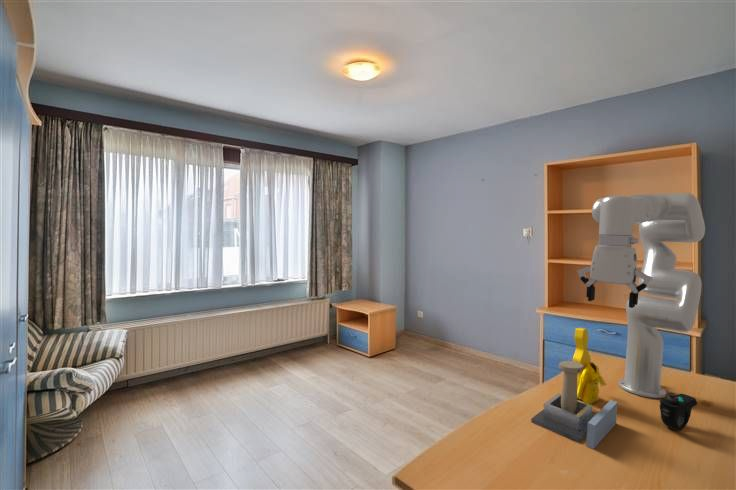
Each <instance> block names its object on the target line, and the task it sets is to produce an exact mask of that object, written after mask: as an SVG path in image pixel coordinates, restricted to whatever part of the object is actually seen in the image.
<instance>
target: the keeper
mask: <svg viewBox="0 0 736 490" xmlns="http://www.w3.org/2000/svg"><path fill="white" fill-rule="evenodd" d="M593 406H594V405H593V404H588V403H586V402H584V401H582V400H580V399H577V406H576V411H575V414H574V413H571V412H568V411H566V410H563V409H561V393H557V394H556V395H554V396H552V397H551V398H550V399H548V400H547V401H546V402H545V403H544V404H543V409H542V410H540V411H539V412H538V413H537V414H536V415H534V416H533V417H532V418H530V419H531V420H530V421H531V423H533V424H535V425H537V426H540V427H542V428H543V429H546V430H549V431H551V432H553V433H556V434H558V435H561V436H562V437H565V438H567V439H570V440H572V441H575V442H577V443H580V442H581V441H582V440H583V439H584V438H585V437H587V426H588V422H589V421H590V420H591V419H592V418H593V417H594V416H595V415H596V414H597V413H598V412H596V411H593Z"/></svg>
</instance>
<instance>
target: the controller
mask: <svg viewBox="0 0 736 490" xmlns="http://www.w3.org/2000/svg"><path fill="white" fill-rule="evenodd" d="M666 395H667V396H665V397H663V398H660V400H659V410H660V419H661V422H662V423H663V424H664V425H665V426H666V427H667V428H670V429H673V430H675V431H681V430H683V429H684V428H685V427H686V426H687V424H688V423H689V421H690V417H691V414H692V409H693V408H694V407H695V406H697V405H698V401H697V399H696V398H695V397H693V396H690V395H689V394H684V393H680V394H679V393H678V394H676V393H673V392H666Z"/></svg>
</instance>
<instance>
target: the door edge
mask: <svg viewBox="0 0 736 490" xmlns="http://www.w3.org/2000/svg"><path fill="white" fill-rule="evenodd" d="M596 413H597V414H596V415H595V416H594V417H593V418H592V419H591V420H590V421H589V422H588V426H587V435H586V444H585V445H586V446H585V447H587V448H590V449H592V450H594V449H595V448H596V447H597V446H598V445H599V443H601V441H602V440H603V439H604V438H605V436H606V435H607V434H608V433H609V432H610V431H611V430H612V428H613V427H614V426H615V425H616V424H617V413H618V401H615V400H611V399H610V400H609V401H608V402H607V403H606V404H605V405H604V406H603V407H602V408H601V409H600V410H599V411H598V412H596Z"/></svg>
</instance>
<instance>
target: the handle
mask: <svg viewBox="0 0 736 490" xmlns="http://www.w3.org/2000/svg"><path fill="white" fill-rule="evenodd" d="M558 369H559V370H561V371H562V372H563V379H562V385H561V393H560V394H561V409H563V410H566V411H568V412H571V413H574V414H575V411H576V406H577V400H578V399H577V374H578V373H580V372H582V371H583V365H582V364H580V363H578V362H574V361H573V360H564V361H563V360H561V361H560V362H559V363H558Z"/></svg>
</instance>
